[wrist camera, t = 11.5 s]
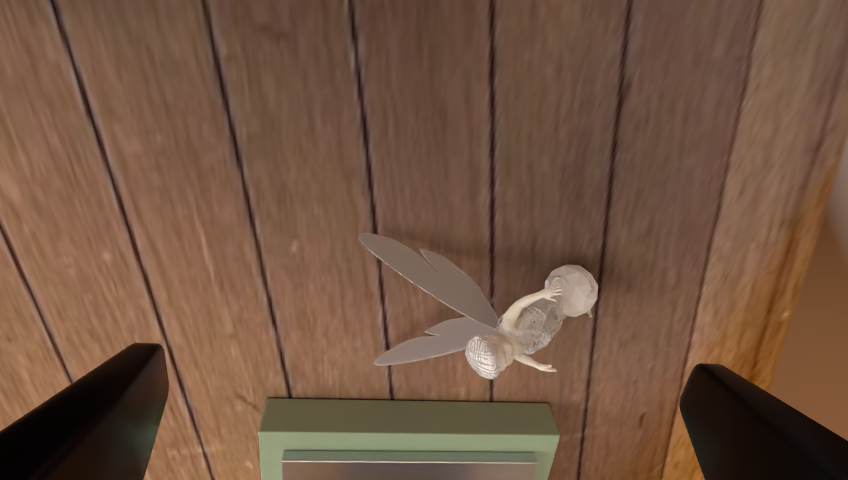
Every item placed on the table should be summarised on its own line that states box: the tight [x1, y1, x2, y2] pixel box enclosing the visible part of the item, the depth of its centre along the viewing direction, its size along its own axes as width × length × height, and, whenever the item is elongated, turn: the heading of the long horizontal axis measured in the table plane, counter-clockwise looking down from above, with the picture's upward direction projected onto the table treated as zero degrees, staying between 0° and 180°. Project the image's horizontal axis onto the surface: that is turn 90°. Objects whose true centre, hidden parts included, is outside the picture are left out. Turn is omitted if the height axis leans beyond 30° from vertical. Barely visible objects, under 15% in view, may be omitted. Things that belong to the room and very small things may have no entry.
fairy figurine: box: [358, 233, 598, 380], centre depth 22 cm, size 6×7×7 cm
